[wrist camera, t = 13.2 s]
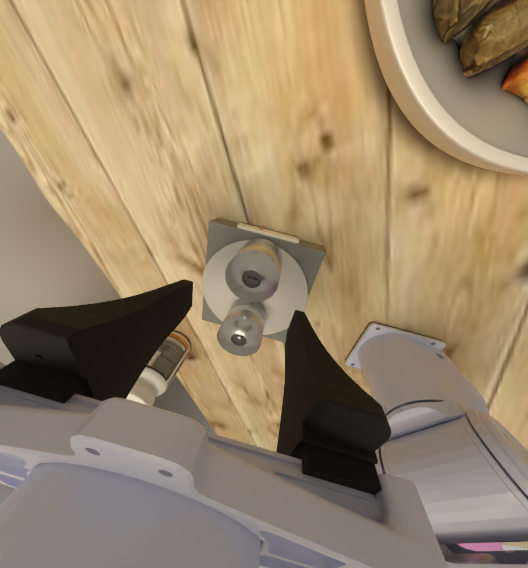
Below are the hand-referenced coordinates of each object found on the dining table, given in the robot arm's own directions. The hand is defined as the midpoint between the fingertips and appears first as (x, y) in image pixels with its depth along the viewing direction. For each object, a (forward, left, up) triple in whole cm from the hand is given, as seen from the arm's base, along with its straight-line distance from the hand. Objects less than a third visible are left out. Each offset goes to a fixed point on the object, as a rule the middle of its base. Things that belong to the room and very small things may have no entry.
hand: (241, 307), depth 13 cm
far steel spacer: (0, +6, -7) cm, 10 cm away
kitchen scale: (0, +4, -10) cm, 11 cm away
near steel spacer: (0, -1, -7) cm, 7 cm away
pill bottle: (+11, +18, -10) cm, 24 cm away
